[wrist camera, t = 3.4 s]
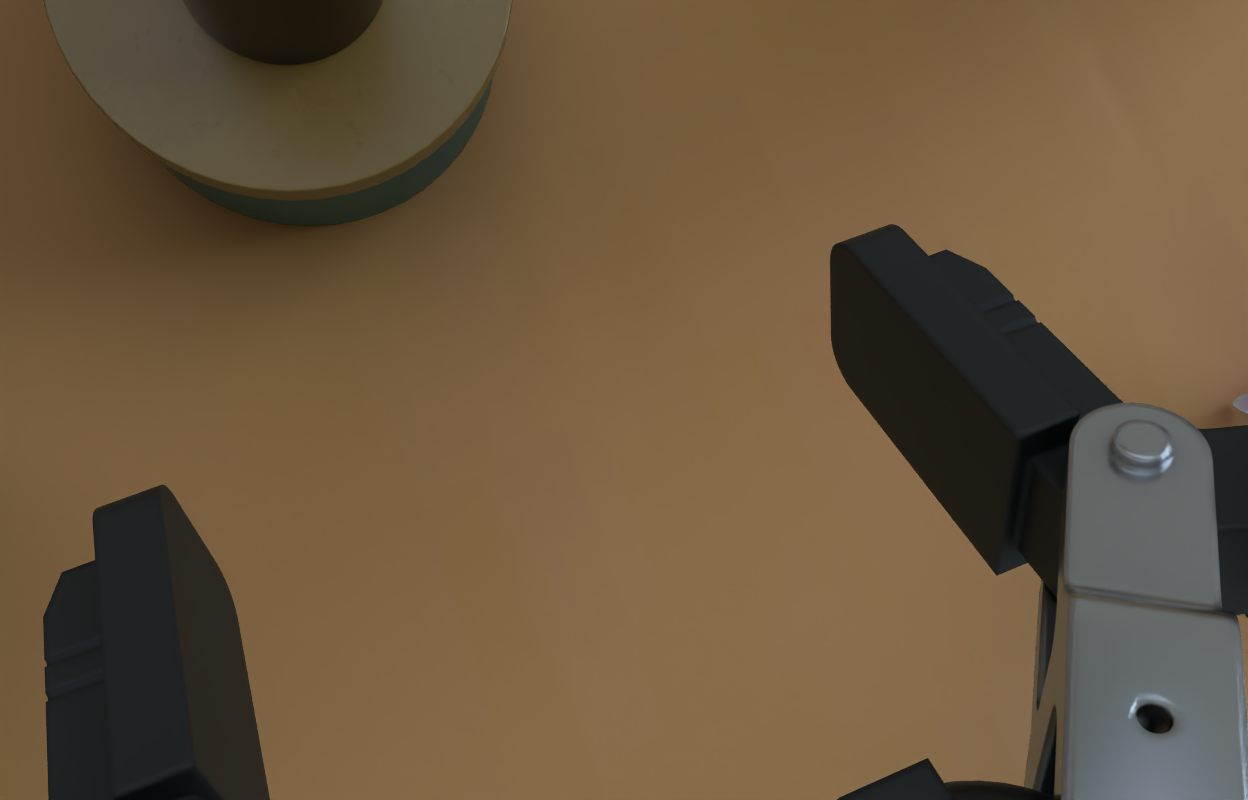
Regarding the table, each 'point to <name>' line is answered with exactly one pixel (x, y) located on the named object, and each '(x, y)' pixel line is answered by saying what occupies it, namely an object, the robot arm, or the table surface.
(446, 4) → the biscuit tin
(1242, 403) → the lily
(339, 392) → the table surface
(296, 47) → the tea tin
